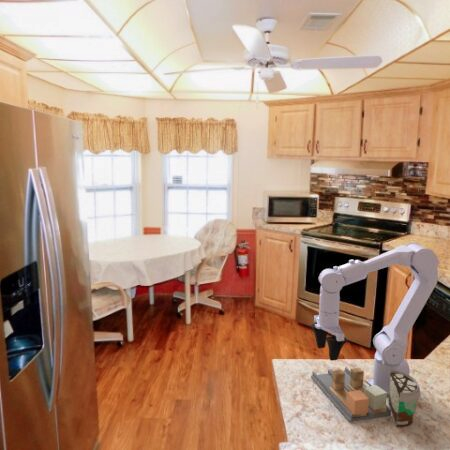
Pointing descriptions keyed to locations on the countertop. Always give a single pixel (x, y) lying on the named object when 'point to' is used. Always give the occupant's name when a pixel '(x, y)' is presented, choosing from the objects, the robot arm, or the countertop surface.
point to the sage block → (376, 396)
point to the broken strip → (381, 410)
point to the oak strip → (343, 399)
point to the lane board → (324, 385)
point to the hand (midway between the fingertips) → (327, 353)
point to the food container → (402, 397)
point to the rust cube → (357, 402)
